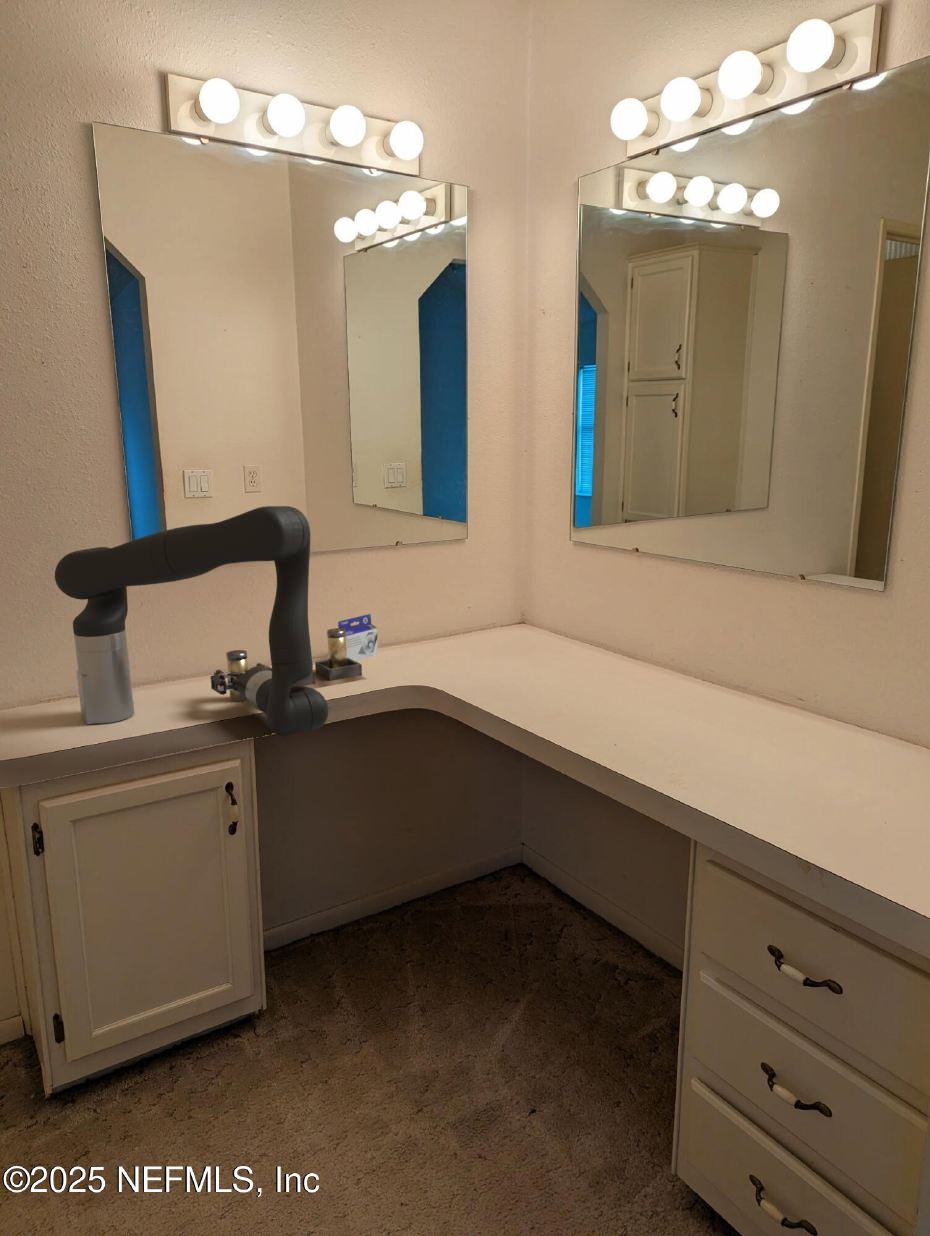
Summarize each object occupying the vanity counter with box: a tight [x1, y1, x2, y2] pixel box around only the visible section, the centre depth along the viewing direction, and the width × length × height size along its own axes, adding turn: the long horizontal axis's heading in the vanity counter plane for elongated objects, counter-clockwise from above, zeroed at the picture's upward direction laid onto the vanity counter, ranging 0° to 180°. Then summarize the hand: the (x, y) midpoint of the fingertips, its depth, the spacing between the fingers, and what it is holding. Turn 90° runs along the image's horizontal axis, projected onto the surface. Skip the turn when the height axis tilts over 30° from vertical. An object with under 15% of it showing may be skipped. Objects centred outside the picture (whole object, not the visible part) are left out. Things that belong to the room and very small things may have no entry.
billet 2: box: [326, 627, 347, 669], centre depth 187 cm, size 4×4×10 cm
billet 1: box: [225, 649, 249, 703], centre depth 176 cm, size 4×4×10 cm
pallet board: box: [293, 658, 368, 690], centre depth 185 cm, size 19×14×4 cm
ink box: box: [337, 613, 378, 662], centre depth 200 cm, size 12×2×12 cm, turn 143°
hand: (238, 671), depth 175 cm, fingers open, 8 cm apart
